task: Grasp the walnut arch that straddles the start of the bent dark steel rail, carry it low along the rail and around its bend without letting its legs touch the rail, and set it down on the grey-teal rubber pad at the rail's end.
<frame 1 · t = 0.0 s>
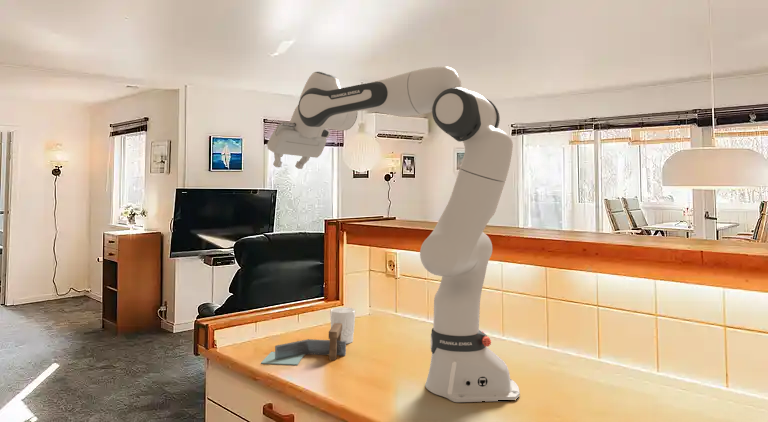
hand: (287, 167, 157), 54 cm above the kitchen counter, tool tilted 30°, fingers open, 8 cm apart
white cup: (342, 341, 167), on the kitchen counter
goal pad: (283, 358, 148), on the kitchen counter
rail: (308, 353, 153), on the kitchen counter
arch: (335, 354, 153), on the kitchen counter
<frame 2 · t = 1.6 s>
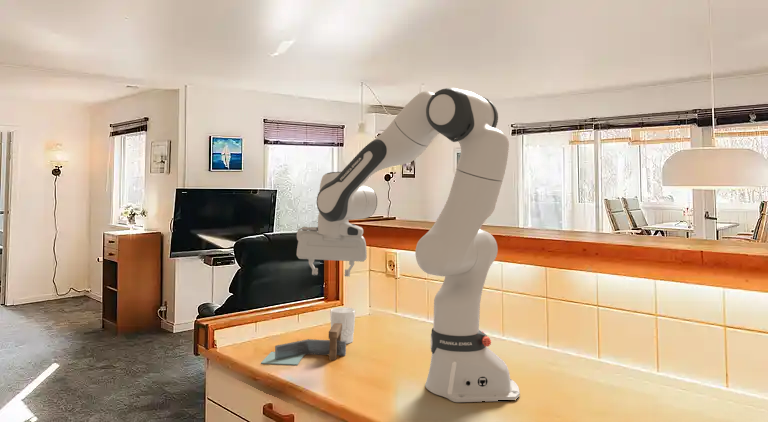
hand: (331, 275, 153), 23 cm above the kitchen counter, tool pointing down, fingers open, 8 cm apart
nothing on the kitchen counter moved.
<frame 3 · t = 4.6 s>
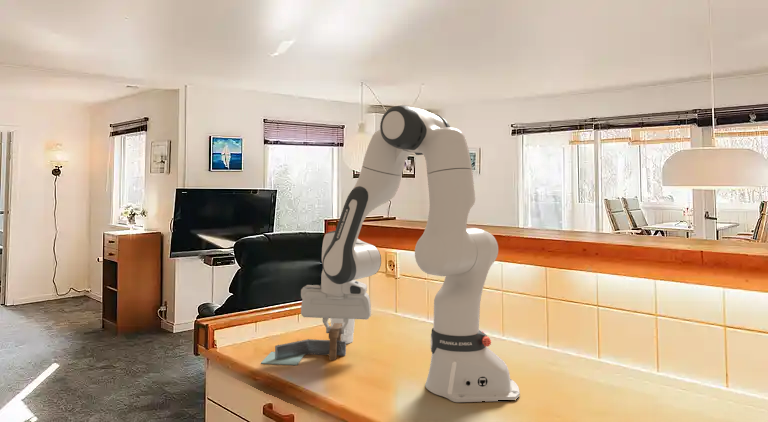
hand: (335, 333, 152), 6 cm above the kitchen counter, tool pointing down, fingers closed on arch, 2 cm apart
arch: (335, 354, 153), on the kitchen counter, touching gripper
everything else where it was.
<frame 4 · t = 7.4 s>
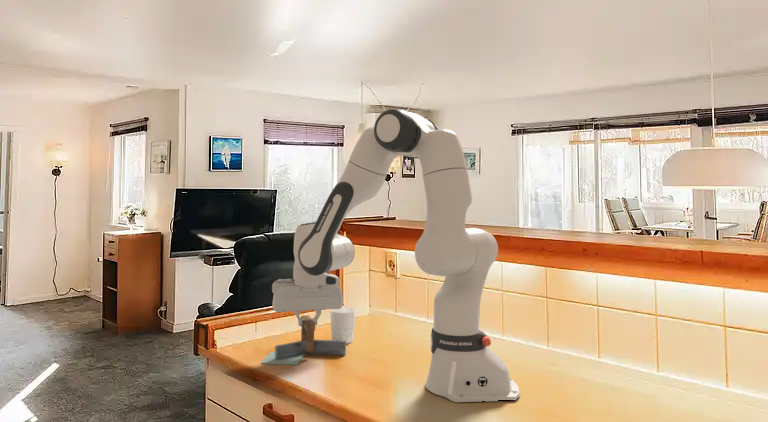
hand: (307, 325, 153), 8 cm above the kitchen counter, tool pointing down, fingers closed on arch, 2 cm apart
arch: (307, 346, 153), point 2 cm above the kitchen counter, touching gripper
everything else where it was.
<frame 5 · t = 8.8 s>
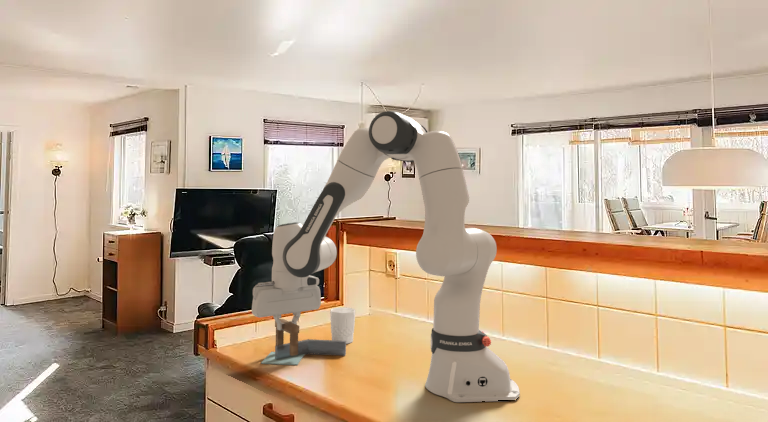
hand: (286, 328, 148), 8 cm above the kitchen counter, tool pointing down, fingers closed on arch, 2 cm apart
arch: (286, 350, 149), point 2 cm above the kitchen counter, touching gripper
everything else where it was.
when the fingers open (7 cm above the kitchen counter, at t = 10.1 s): arch stays where it is, resting on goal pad.
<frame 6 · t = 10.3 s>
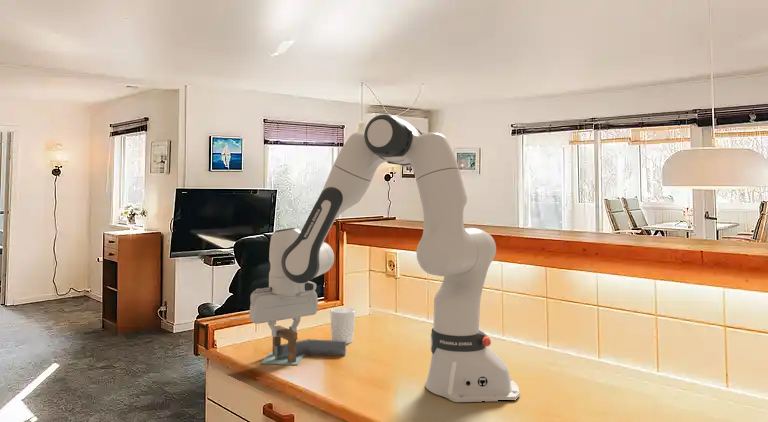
hand: (284, 334, 148), 7 cm above the kitchen counter, tool pointing down, fingers open, 4 cm apart
arch: (284, 357, 148), resting on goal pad
everything else where it was.
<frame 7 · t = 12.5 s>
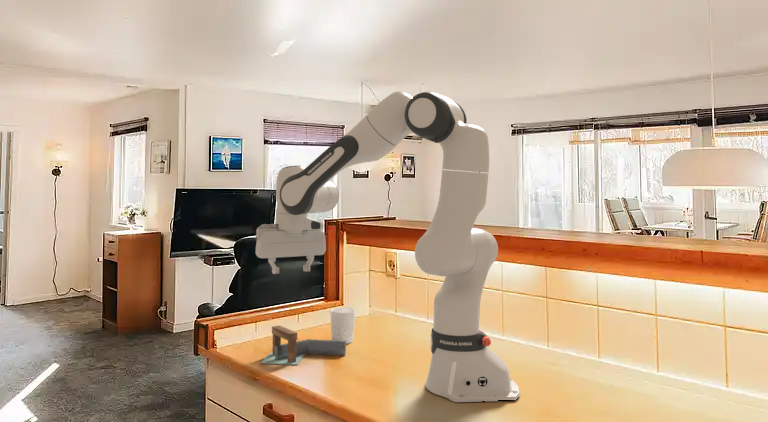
hand: (291, 272, 149), 24 cm above the kitchen counter, tool pointing down, fingers open, 8 cm apart
nothing on the kitchen counter moved.
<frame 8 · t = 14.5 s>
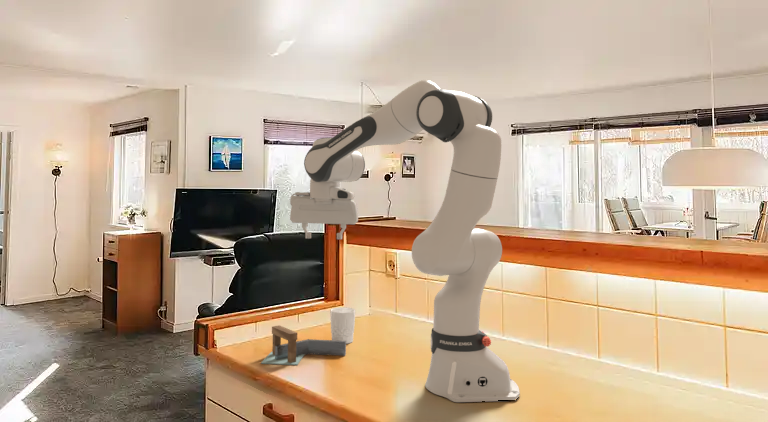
hand: (323, 238, 158), 33 cm above the kitchen counter, tool pointing down, fingers open, 8 cm apart
nothing on the kitchen counter moved.
at the end: arch inside the target area (0.2 cm from its centre), resting on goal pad; arch tilted 0°; arch touching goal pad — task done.
